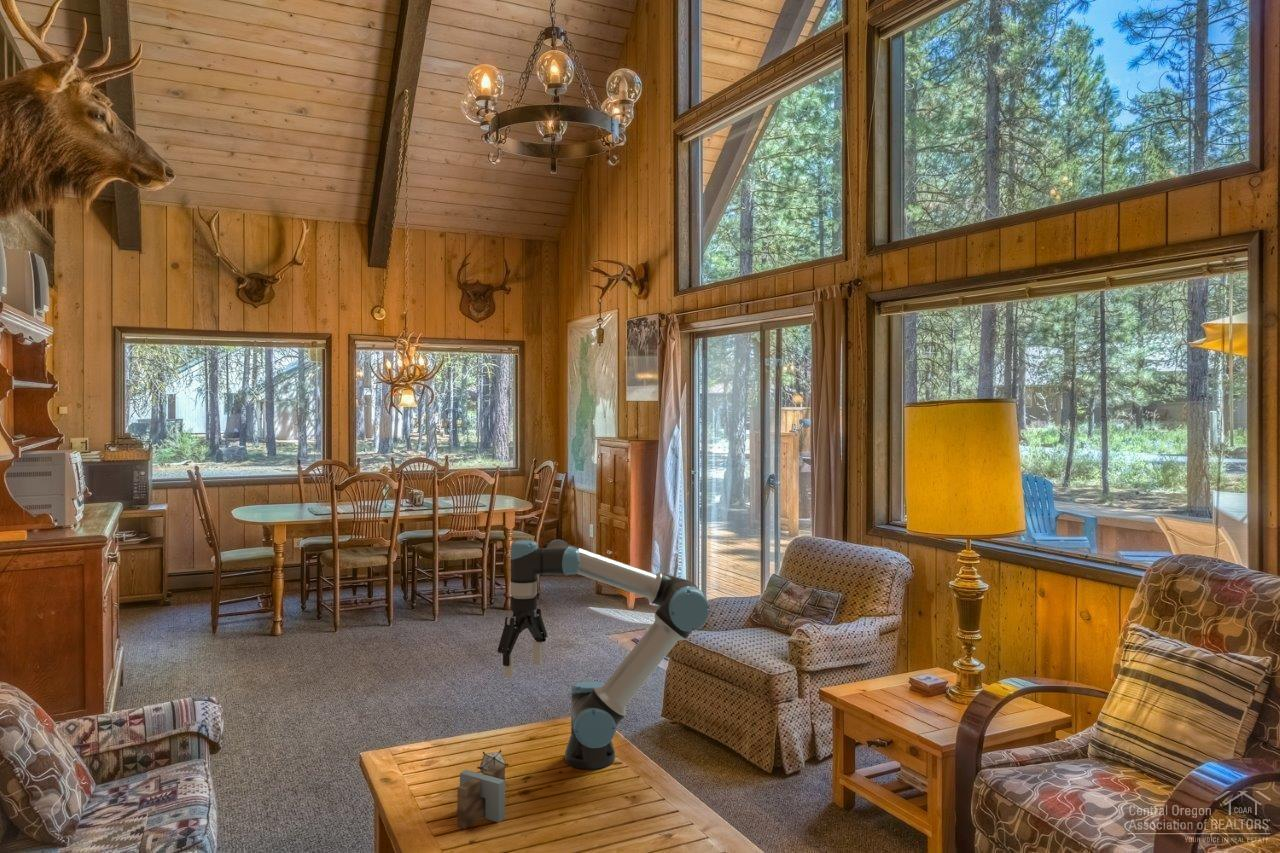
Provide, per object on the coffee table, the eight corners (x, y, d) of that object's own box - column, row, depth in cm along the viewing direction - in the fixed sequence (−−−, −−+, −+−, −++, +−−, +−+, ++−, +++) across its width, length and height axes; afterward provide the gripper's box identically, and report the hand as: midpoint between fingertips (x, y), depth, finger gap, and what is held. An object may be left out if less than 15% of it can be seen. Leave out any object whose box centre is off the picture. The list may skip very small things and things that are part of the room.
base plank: (497, 801, 228) (497, 764, 227) (504, 803, 226) (504, 766, 226) (457, 826, 214) (457, 787, 213) (464, 828, 212) (465, 789, 212)
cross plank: (465, 806, 224) (466, 769, 224) (504, 818, 218) (505, 780, 218) (459, 810, 222) (459, 773, 222) (498, 822, 216) (499, 783, 216)
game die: (496, 795, 239) (500, 776, 233) (470, 782, 241) (473, 762, 235) (511, 769, 246) (515, 750, 240) (485, 756, 248) (489, 737, 242)
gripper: (538, 586, 252) (538, 657, 252) (484, 602, 230) (484, 680, 230) (559, 589, 248) (558, 661, 248) (506, 606, 226) (506, 684, 227)
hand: (523, 670), depth 239 cm, fingers open, 13 cm apart
